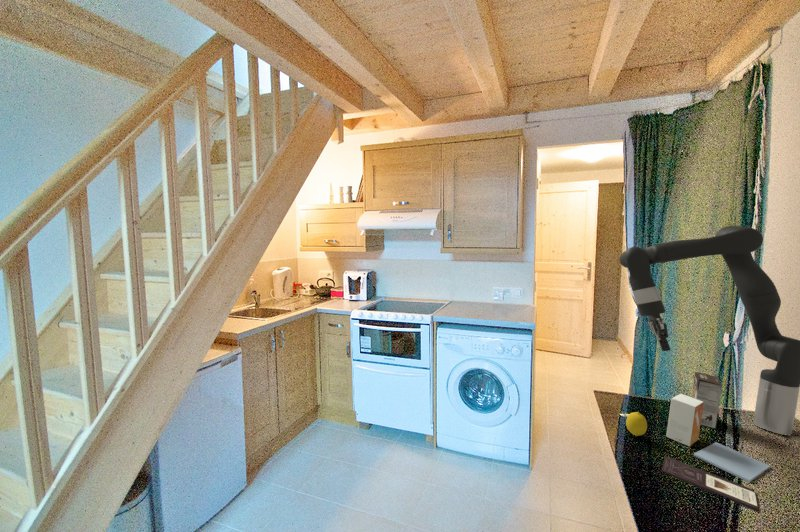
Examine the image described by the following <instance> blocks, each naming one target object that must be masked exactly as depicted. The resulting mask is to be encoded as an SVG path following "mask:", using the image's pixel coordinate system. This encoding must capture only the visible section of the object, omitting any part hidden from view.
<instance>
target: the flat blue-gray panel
mask: <svg viewBox="0 0 800 532" xmlns="http://www.w3.org/2000/svg"><path fill="white" fill-rule="evenodd" d="M693 456H694V457H695V458H698V459H700V460H702V461H704V462H706V463H709V464H711V465H712V466H715V467H716V468H718V469H721V470H723V471H725V472H727V473H729V474H731V475H732V476H735V477H737V478H739V479H741V480H743V481H745V482H748V483H751V482H752V481H753V480H755V479H757V478H758V477H760V476H761V475H762V474H763V473H765V472H766V471H768V470H769V469H770V468H771V465H770V464H767V463H765V462H762V461H760V460H759V459H756V458H753V457H752V456H748V455H747V454H744V453H742V452H739V451H737V450H736V449H733V448H731V447H729V446H726V445H724V444H722V443H719V442H717V441H715V442H713V443H712V444H711V443H710V445H708V446H706V447H704V448H702V449H700V450H698V451H695V452H694V453H693ZM768 468H769V469H768ZM767 469H768V470H767ZM765 470H766V471H765ZM764 471H765V472H764Z"/></svg>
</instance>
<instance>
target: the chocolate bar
mask: <svg viewBox="0 0 800 532" xmlns="http://www.w3.org/2000/svg"><path fill="white" fill-rule="evenodd" d="M663 459H664V460H663V461H662V462H663V463H662V467H661V471H662V472H661V473H663V472H664V473H663V474H665V473H666V475H668V474H669V475H668V476H670V475H671V477H672V476H673V478H675V479H678V480H680V481H682V482H685V483H688V484H690V485H692V486H693V487H694V486H695V487H697V488H699V489H702V490H703V491H707V492H709V493H712V494H714V495H716V494H717V496H719V495H720V496H719V497H721V496H723V497H726V498H728V499H730V500H729V501H731V500H732V501H731V502H733V501H734V502H733V503H736V504H738V505H741V506H743V507H746V508H748V509H751V510H753V511H756V512H758V510H759V509H758V503H757V497H756V492H755V489H752V488H751V487H747V486H745V485H742V484H739V483H737V482H735V481H732V480H729V479H726V478H724V477H721V476H719V475H716V474H714V473H710V472H708V471H705V470H704V469H700V468H698V467H695V466H692V465H690V464H687V463H684V462H682V461H679V460H677V459H675V458H672V457H669V456H666V455H664V457H663ZM723 497H722V498H723ZM726 498H725V499H726ZM728 499H727V500H728Z"/></svg>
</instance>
